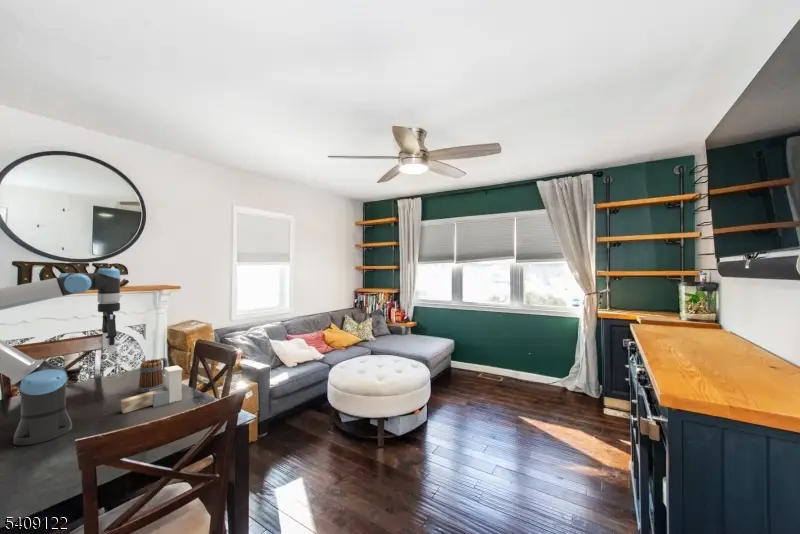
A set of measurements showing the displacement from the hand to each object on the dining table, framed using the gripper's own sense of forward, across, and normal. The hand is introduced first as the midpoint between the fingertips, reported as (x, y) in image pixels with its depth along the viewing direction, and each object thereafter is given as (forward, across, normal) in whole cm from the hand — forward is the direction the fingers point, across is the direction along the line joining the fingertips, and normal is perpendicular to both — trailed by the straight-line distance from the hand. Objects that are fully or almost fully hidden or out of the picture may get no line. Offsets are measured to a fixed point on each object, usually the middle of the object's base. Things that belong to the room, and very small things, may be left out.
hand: (108, 349), depth 148 cm
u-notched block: (+27, -9, -20) cm, 35 cm away
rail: (+26, -9, -12) cm, 30 cm away
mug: (+27, +14, -20) cm, 36 cm away
